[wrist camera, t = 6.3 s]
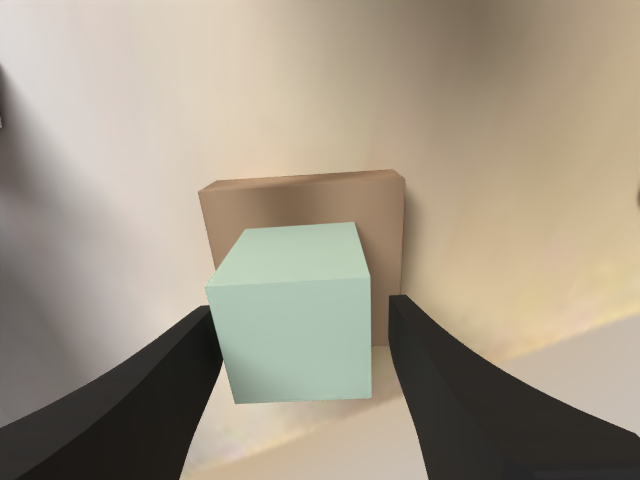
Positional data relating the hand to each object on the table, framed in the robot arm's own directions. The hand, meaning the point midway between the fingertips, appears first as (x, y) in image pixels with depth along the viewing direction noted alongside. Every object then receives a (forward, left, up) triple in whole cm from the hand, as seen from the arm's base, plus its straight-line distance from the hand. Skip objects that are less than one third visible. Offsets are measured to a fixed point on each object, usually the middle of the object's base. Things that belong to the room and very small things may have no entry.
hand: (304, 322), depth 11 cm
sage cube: (0, 0, -3) cm, 4 cm away
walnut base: (0, 0, -6) cm, 6 cm away
